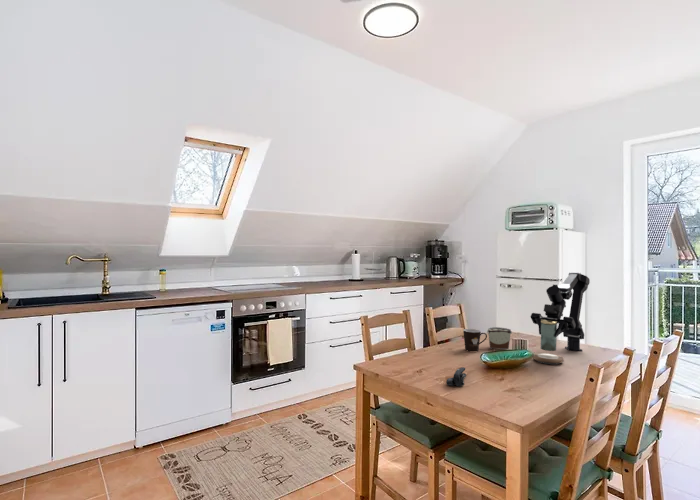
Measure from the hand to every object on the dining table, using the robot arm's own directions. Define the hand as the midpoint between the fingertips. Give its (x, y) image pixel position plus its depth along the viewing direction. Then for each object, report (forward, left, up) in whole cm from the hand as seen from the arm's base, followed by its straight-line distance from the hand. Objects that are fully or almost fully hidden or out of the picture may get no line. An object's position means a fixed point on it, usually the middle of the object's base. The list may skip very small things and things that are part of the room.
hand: (547, 335), depth 193 cm
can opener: (+35, -43, -13) cm, 57 cm away
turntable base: (-1, +1, -12) cm, 12 cm away
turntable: (-1, +1, -11) cm, 11 cm away
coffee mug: (-16, -30, -13) cm, 36 cm away
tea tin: (-1, +1, -7) cm, 7 cm away
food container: (-25, -17, -13) cm, 33 cm away
